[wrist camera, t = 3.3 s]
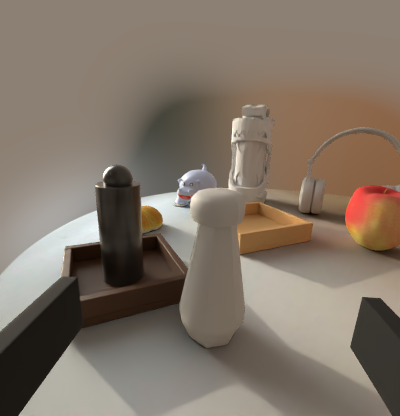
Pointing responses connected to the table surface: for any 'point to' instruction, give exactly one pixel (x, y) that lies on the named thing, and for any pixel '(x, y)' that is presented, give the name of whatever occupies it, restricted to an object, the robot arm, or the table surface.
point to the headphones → (315, 189)
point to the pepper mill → (120, 226)
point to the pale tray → (270, 228)
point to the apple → (374, 217)
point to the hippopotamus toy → (193, 185)
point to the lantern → (251, 153)
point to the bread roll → (150, 219)
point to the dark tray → (129, 294)
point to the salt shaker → (214, 269)
